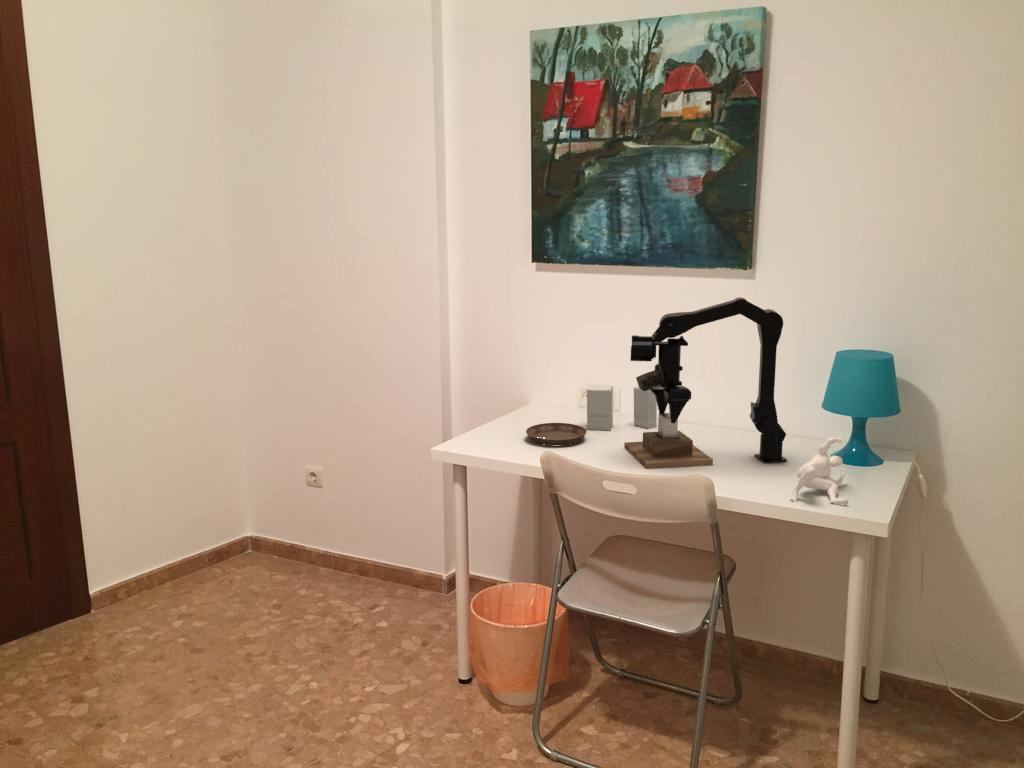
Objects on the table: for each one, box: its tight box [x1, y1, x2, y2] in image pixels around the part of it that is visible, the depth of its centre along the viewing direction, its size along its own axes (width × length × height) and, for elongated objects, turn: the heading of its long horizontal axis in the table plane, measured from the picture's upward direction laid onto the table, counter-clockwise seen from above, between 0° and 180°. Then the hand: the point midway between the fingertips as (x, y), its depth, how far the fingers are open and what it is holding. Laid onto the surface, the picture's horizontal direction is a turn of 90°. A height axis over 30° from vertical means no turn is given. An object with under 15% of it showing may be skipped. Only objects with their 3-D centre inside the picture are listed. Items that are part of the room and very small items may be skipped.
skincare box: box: [633, 386, 658, 429], centre depth 257 cm, size 6×4×12 cm
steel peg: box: [657, 412, 679, 440], centre depth 226 cm, size 4×4×10 cm
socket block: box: [623, 430, 714, 470], centre depth 226 cm, size 20×18×6 cm
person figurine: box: [790, 436, 850, 506], centre depth 196 cm, size 13×13×18 cm
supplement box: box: [586, 384, 614, 431], centre depth 256 cm, size 7×7×13 cm
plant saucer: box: [525, 422, 588, 447], centre depth 244 cm, size 18×18×3 cm
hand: (667, 418), depth 225 cm, fingers open, 9 cm apart
